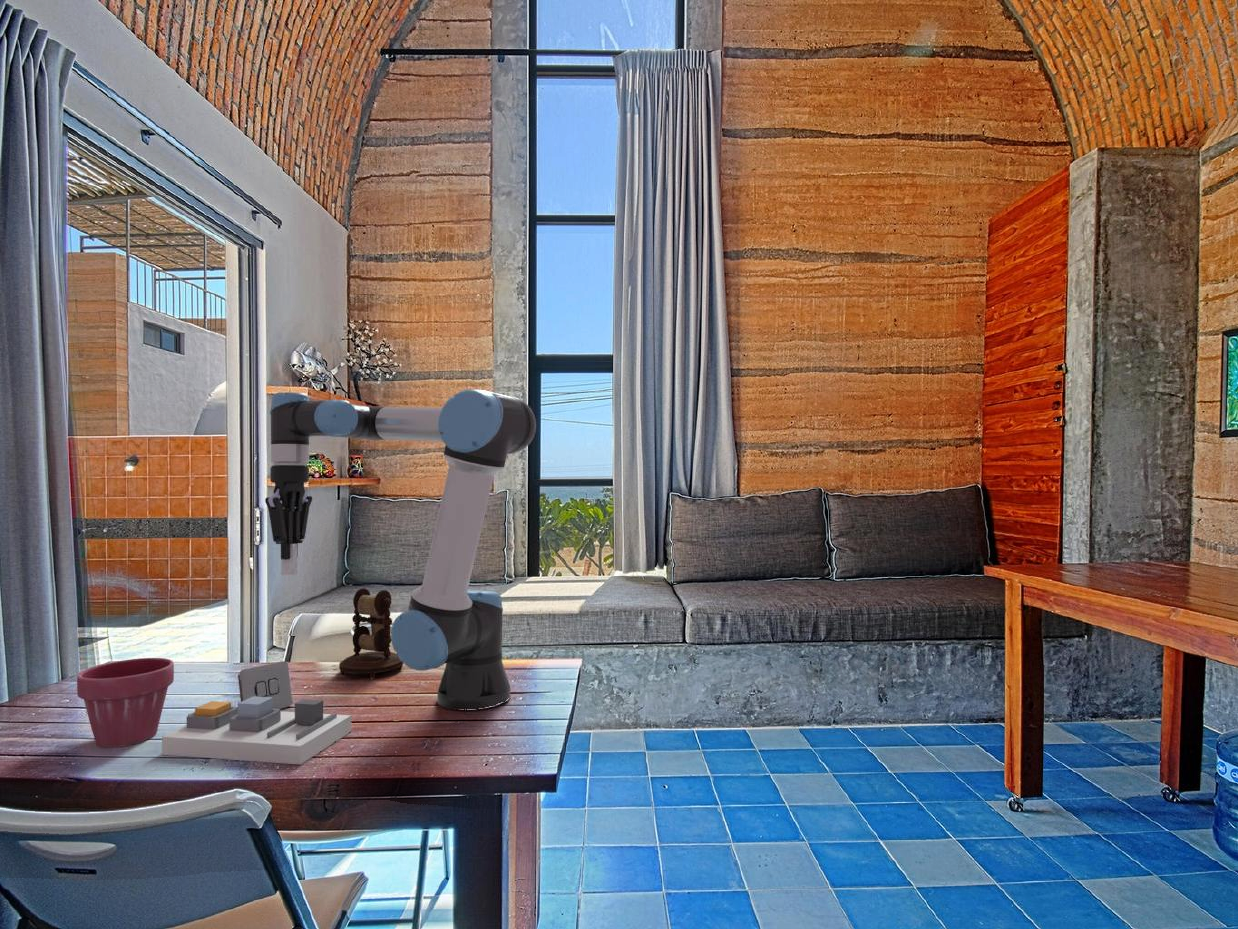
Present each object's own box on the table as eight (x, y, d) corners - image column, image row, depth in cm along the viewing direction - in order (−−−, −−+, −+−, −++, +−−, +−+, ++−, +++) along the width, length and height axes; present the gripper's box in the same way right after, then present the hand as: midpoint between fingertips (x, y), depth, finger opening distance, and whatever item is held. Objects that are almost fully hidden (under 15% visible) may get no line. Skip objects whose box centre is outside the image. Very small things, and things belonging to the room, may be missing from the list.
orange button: (231, 716, 127) (231, 702, 127) (214, 724, 123) (214, 709, 123) (211, 715, 127) (211, 701, 127) (194, 723, 123) (194, 708, 123)
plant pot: (64, 759, 116) (65, 682, 117) (89, 731, 129) (90, 662, 129) (165, 745, 122) (165, 672, 122) (179, 720, 135) (180, 654, 135)
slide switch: (323, 720, 125) (323, 700, 125) (315, 725, 123) (315, 704, 123) (303, 719, 126) (303, 699, 126) (294, 723, 123) (294, 703, 123)
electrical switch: (246, 719, 136) (244, 670, 137) (234, 716, 139) (233, 668, 140) (293, 707, 143) (291, 661, 144) (281, 704, 146) (280, 659, 147)
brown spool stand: (416, 667, 173) (416, 586, 173) (372, 683, 160) (373, 595, 160) (370, 661, 179) (371, 583, 179) (325, 676, 166) (325, 591, 166)
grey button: (273, 712, 125) (273, 697, 125) (257, 719, 121) (258, 704, 121) (253, 710, 126) (253, 696, 126) (237, 718, 122) (237, 703, 122)
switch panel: (351, 731, 128) (351, 704, 128) (300, 764, 114) (300, 733, 114) (226, 724, 133) (226, 697, 133) (161, 754, 118) (162, 724, 118)
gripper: (293, 465, 157) (292, 570, 156) (253, 464, 144) (252, 578, 144) (323, 465, 156) (322, 570, 155) (286, 463, 143) (285, 578, 142)
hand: (289, 574), depth 149 cm, fingers closed
